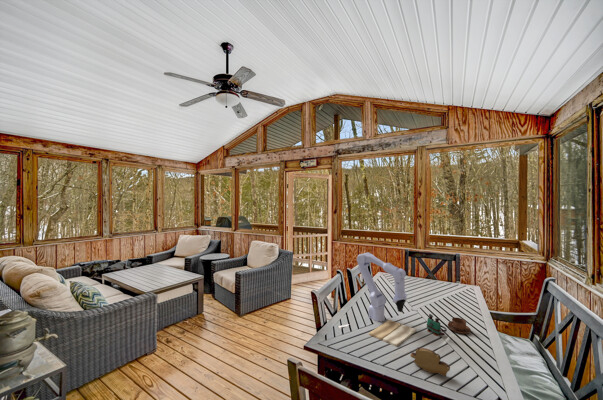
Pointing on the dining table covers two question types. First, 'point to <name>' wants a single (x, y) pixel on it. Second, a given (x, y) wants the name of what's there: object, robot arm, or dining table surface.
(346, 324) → the cell phone
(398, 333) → the maple plank
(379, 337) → the board
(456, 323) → the brown cowboy hat
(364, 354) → the dining table surface
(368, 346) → the dining table surface
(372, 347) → the dining table surface
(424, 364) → the wooden carving
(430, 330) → the binoculars
